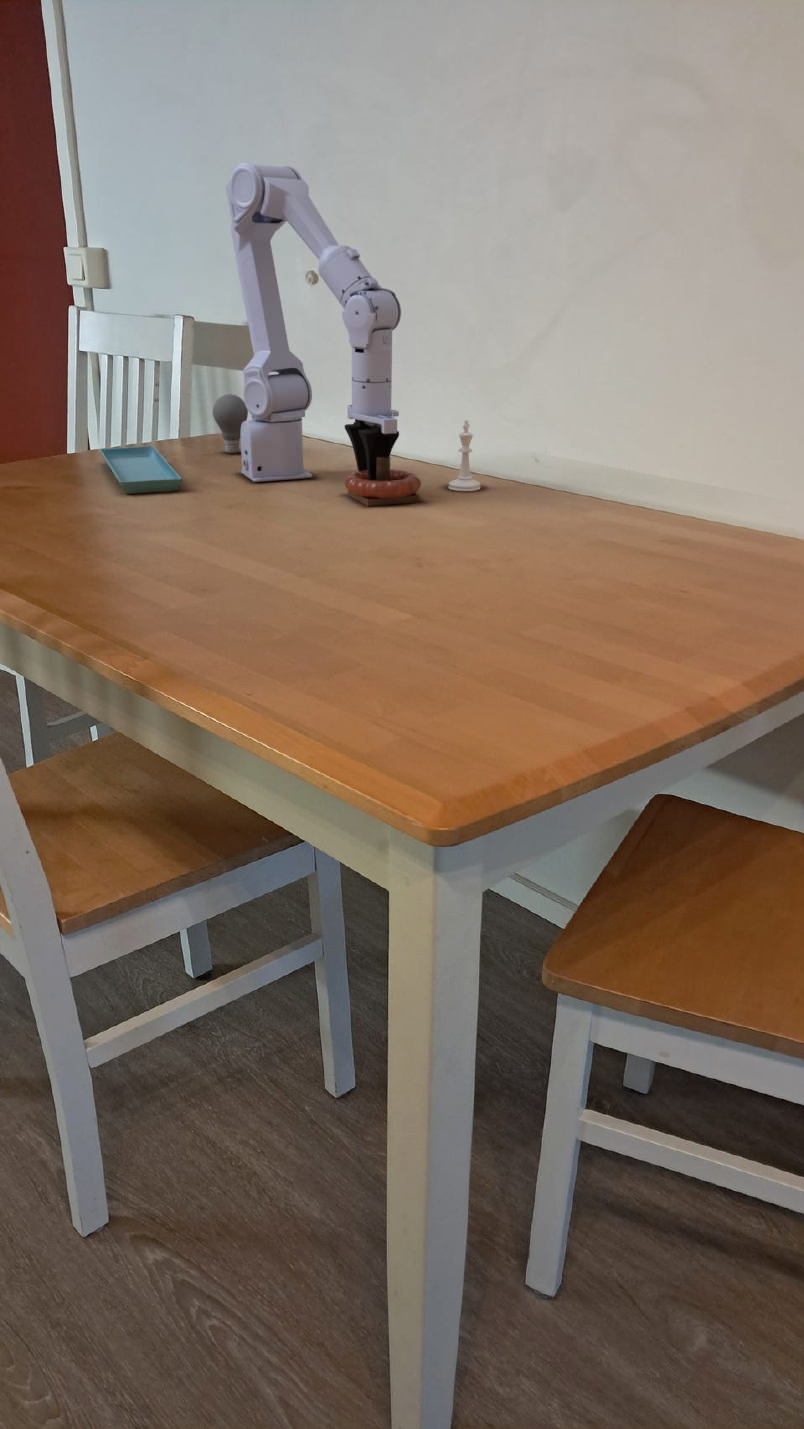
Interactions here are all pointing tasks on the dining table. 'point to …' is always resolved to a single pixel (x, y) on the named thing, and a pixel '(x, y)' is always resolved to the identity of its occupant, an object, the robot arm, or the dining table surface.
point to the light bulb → (230, 420)
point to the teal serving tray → (141, 469)
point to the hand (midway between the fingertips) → (371, 475)
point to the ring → (383, 484)
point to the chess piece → (465, 465)
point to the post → (384, 475)
